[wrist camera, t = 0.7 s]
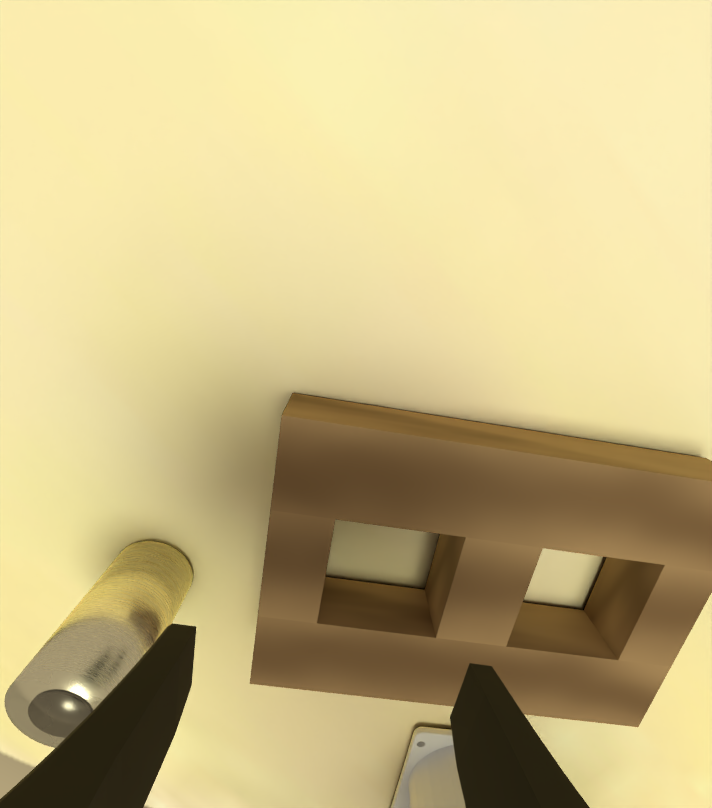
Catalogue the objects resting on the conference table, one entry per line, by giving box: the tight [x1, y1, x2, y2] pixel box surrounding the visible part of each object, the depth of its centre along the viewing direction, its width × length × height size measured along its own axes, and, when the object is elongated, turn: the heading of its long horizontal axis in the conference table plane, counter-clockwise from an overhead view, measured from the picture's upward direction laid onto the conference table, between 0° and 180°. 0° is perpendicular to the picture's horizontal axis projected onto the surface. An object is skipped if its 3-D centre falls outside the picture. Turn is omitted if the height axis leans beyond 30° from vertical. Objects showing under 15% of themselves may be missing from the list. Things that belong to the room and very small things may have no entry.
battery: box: [5, 541, 193, 748], centre depth 18 cm, size 4×4×7 cm
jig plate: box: [250, 393, 712, 727], centre depth 19 cm, size 14×20×3 cm
